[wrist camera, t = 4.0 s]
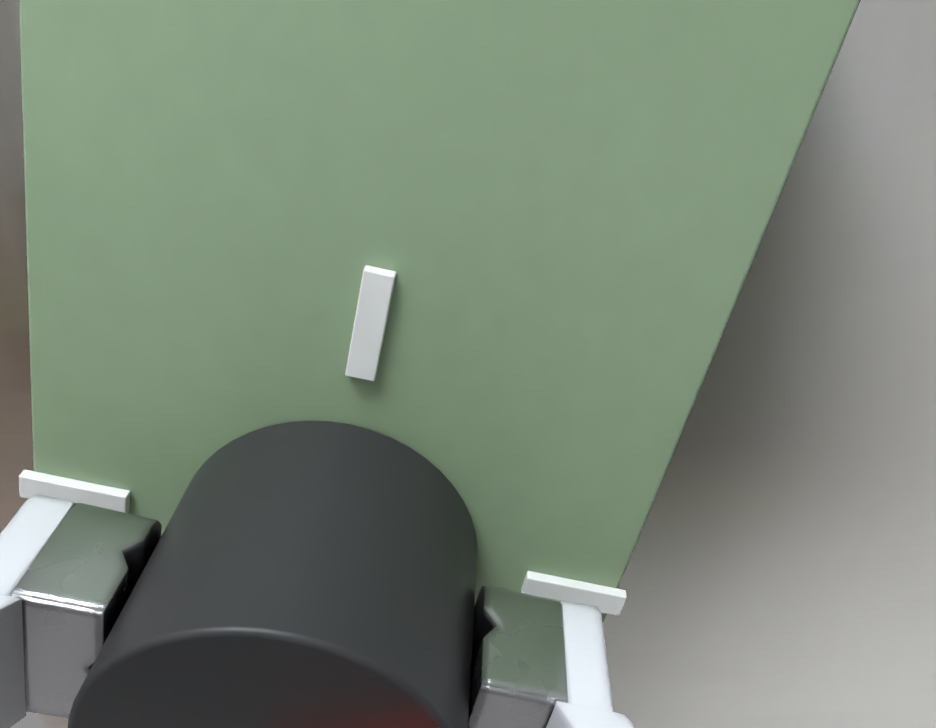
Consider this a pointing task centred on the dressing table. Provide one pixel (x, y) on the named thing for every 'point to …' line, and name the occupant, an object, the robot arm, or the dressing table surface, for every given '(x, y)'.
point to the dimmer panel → (403, 241)
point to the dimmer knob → (298, 594)
